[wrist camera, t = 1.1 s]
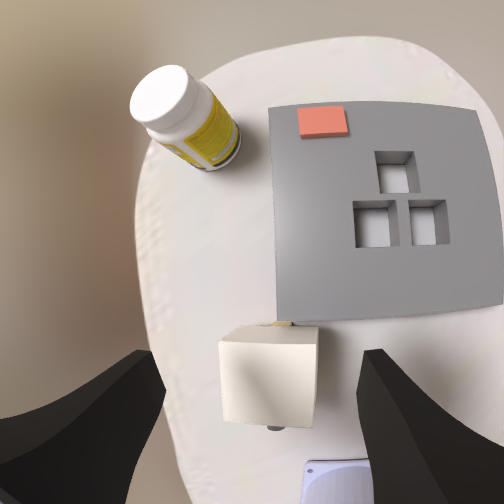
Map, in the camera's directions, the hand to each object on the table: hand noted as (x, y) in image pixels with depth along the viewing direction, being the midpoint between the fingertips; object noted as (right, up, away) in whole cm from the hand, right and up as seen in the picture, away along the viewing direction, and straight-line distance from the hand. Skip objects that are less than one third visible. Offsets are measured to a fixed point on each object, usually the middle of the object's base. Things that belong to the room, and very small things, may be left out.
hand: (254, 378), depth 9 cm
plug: (+2, -3, +10) cm, 11 cm away
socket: (+10, +7, +9) cm, 15 cm away
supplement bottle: (-3, +13, +12) cm, 18 cm away
